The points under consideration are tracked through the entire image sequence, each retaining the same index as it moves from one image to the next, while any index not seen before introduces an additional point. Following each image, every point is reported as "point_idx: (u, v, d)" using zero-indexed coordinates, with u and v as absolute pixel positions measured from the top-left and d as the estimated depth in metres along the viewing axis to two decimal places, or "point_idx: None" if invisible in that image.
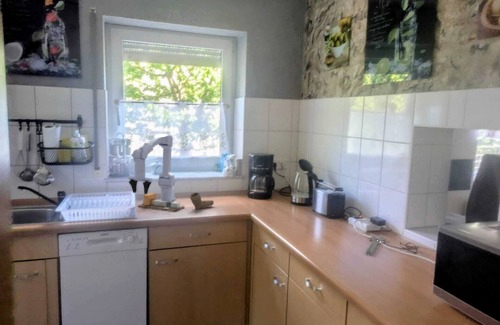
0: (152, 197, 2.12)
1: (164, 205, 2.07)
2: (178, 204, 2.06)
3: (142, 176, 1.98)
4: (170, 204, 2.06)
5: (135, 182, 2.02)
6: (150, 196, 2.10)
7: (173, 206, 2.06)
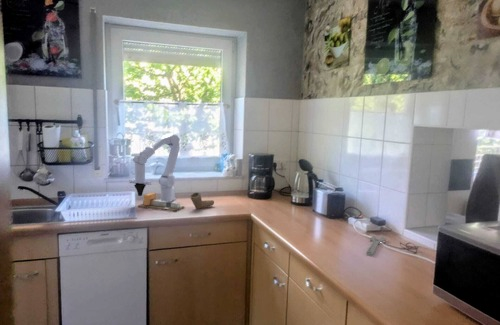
0: (152, 197, 2.12)
1: (164, 205, 2.07)
2: (178, 204, 2.06)
3: (142, 179, 2.11)
4: (170, 204, 2.06)
5: None
6: (150, 196, 2.10)
7: (173, 206, 2.06)
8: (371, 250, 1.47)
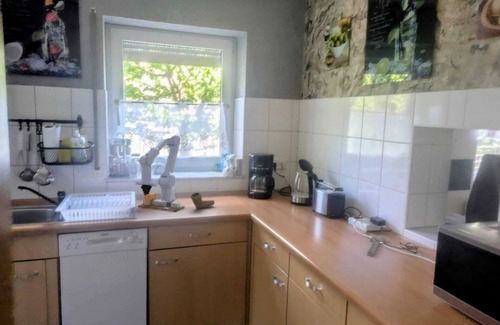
0: (152, 197, 2.12)
1: (164, 205, 2.07)
2: (178, 204, 2.06)
3: (148, 181, 2.10)
4: (170, 204, 2.06)
5: None
6: (150, 196, 2.10)
7: (173, 206, 2.06)
8: (372, 250, 1.46)
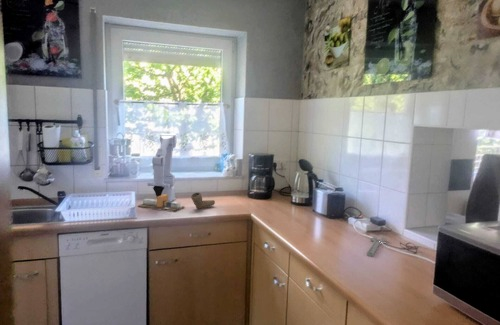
0: (165, 198, 2.09)
1: (164, 205, 2.07)
2: (178, 204, 2.06)
3: (161, 182, 2.07)
4: (170, 204, 2.06)
5: None
6: (163, 197, 2.07)
7: (173, 206, 2.06)
8: (372, 251, 1.46)
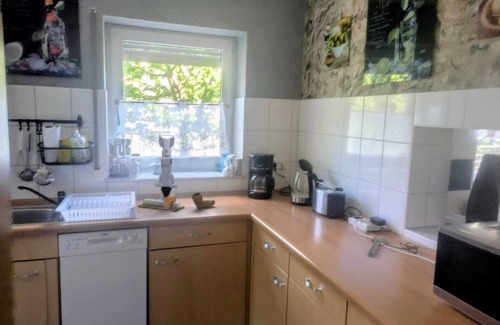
0: (172, 199, 2.07)
1: (164, 205, 2.07)
2: (178, 204, 2.06)
3: (168, 183, 2.05)
4: None
5: None
6: (171, 198, 2.05)
7: (173, 206, 2.06)
8: (372, 251, 1.45)
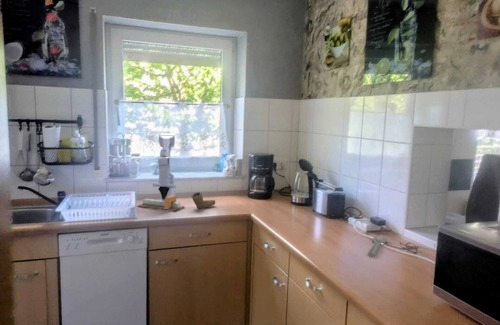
0: (173, 199, 2.07)
1: (164, 205, 2.07)
2: (178, 204, 2.06)
3: (166, 183, 2.06)
4: None
5: None
6: (171, 198, 2.05)
7: (173, 206, 2.06)
8: (372, 251, 1.45)
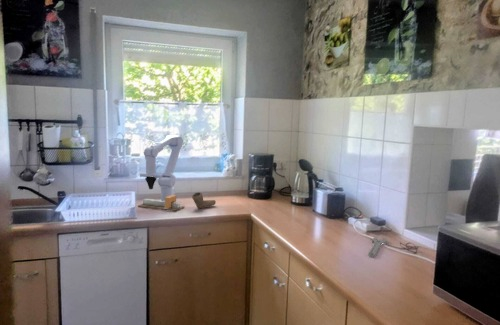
0: (173, 199, 2.07)
1: (164, 205, 2.07)
2: (178, 204, 2.06)
3: (153, 173, 2.10)
4: None
5: None
6: (171, 198, 2.05)
7: (173, 206, 2.06)
8: (373, 251, 1.45)
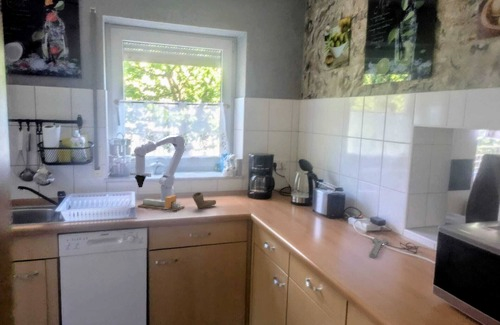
0: (173, 199, 2.07)
1: (164, 205, 2.07)
2: (178, 204, 2.06)
3: (142, 171, 2.14)
4: None
5: None
6: (171, 198, 2.05)
7: (173, 206, 2.06)
8: (374, 252, 1.44)
